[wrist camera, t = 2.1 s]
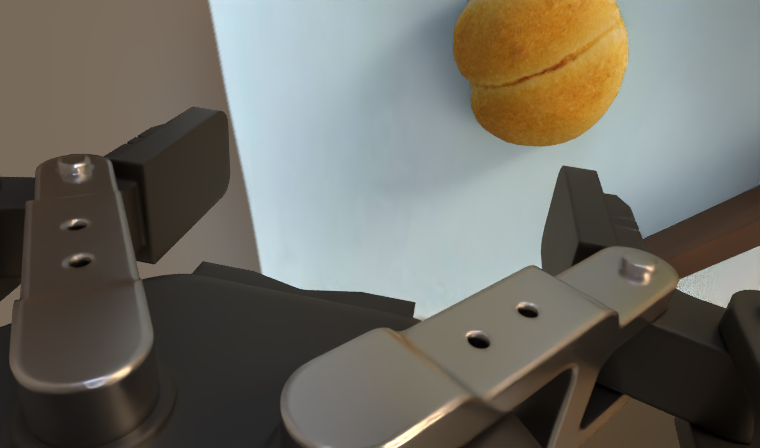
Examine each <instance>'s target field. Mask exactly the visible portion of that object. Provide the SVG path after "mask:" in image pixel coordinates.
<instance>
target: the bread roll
mask: <svg viewBox="0 0 760 448" xmlns="http://www.w3.org/2000/svg"><path fill="white" fill-rule="evenodd" d="M453 50H454V58H455V61H456V64H457V66H458V68H459V70H460V72H461V74H462V75H463V76H464V77H465V78H466V79H467V80H468V81H469V82H470V86H471V107H472V110H473V113H474V115H475V118H476V120H477V121H478V122H479V124H480V125H481V126H482V127H483V128H484V129H485V130H486V131H488V132H490V133H491V134H493V135H495V136H496V137H498V138H500V139H502V140H504V141H506V142H509V143H513V144H517V145H525V146H551V145H556V144H560V143H564V142H567V141H569V140H572V139H575V138H576V137H578V136H580V135H581V134H583V133H584V132H586V131H587V130H588V129H590V128H591V127H592V126H593V125H594V124H595V123H596V122H597V121H598V120H599V119H600V118H601V117H602V116H603V114H604V113H605V112H606V111H607V110H608V108H609V107H610V105H611V104H612V102H613V101H614V99H615V97H616V96H617V94H618V92H619V89H620V87H621V84H622V80H623V77H624V73H625V70H626V67H627V64H628V53H629V47H628V37H627V31H626V28H625V25H624V22H623V20H622V17H621V14H620V10H619V7H618V5H617V4H616V1H615V0H469V1H468V3H467V6H466V7H465V9H464V10H463V11H462V13H461V15H460V17H459V18H458V20H457V23H456V25H455V28H454V41H453Z"/></svg>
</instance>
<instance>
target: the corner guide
mask: <svg viewBox="0 0 760 448" xmlns="http://www.w3.org/2000/svg"><path fill="white" fill-rule="evenodd" d="M643 241H644V243H645V246H646V249H647V251H648V253H651V254H653V255H655V256H657V257H659V258H661V259H663V260H664V261H666V262H667V263H668V264H670V265H671V266H672V267H673V268H674V269H675V271H676V272H677V273H678V276H679V279H681V278H684V277H686V276H688V275H691V274H693V273H696V272H698V271H700V270H703V269H705V268H707V267H710V266H712V265H715V264H717V263H719V262H722V261H724V260H726V259H729V258H731V257H734V256H736V255H738V254H741V253H743V252H746V251H748V250H750V249H753V248H755V247H757V246H760V186H758V187H756V188H754V189H751V190H749V191H747V192H745V193H743V194H741V195H738V196H736V197H734V198H732V199H730V200H728V201H725V202H723V203H721V204H719V205H717V206H715V207H712V208H710V209H708V210H706V211H704V212H702V213H699V214H697V215H695V216H693V217H691V218H689V219H686V220H684V221H682V222H680V223H678V224H676V225H673V226H671V227H669V228H667V229H665V230H663V231H660V232H658V233H656V234H654V235H652V236H650V237H647V238H645V239H643Z"/></svg>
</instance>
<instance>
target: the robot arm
mask: <svg viewBox="0 0 760 448" xmlns="http://www.w3.org/2000/svg"><path fill="white" fill-rule="evenodd" d="M229 179H230V158H229V133H228V119H227V116H226V114H225V113H224V112H223V111H217V110H211V109H205V108H199V107H191V108H190V109H188V110H186V111H185V112H183V113H181V114H180V115H178V116H177V117H175V118H174V119H172V120H170V121H169V122H167V123H165V124H162V125H159V126H155V127H152V128H150V129H148V130H146V131H145V132H143V133H142V134H140V135H138V137H135V138H133V139H132V140H130V141H128V143H127V144H124V145H122V146H120V147H118V148H117V149H115V150H114V151H112V152H110V153H109V154H107V155H105V156H104V157H102V156H98V155H91V154H70V155H65V156H60V157H56V158H53V159H50V160H47V161H45V162H44V163H42V164H40V165H39V166H38V167H37V169H36V172H35V178H31V177H30V178H29V177H28V178H27V177H26V178H25V177H0V301H1V300H2V299H4V298H5V297H6V296H7V295H8V294H10V293H11V292H12V291H13V290H14V289H15V288H17V287H18V286H19V285H20V284H21V291H20V299H19V300H15V301H14V304H13V312H12V323H11V324H8V325H5V326H2V327H0V448H579V447H581V446H582V445H583V443H585V442H586V441H587V440H588V439H589V438H590V437H591V436H592V435H593V434H594V433H596V432H597V431H598V430H599V429H600V428H601V427H602V426H603V425H604V424H605V423H606V422H607V421H608V420H610V419H611V418H612V417H613V416H614V415H615V414H616V413H617V412H618V411H619V410H620V409H621V408H623V407H624V406H625V405H626V404H627V403H628V401H629V400H630V398H631V397H632V398H634V399H636V400H638V401H641V402H643V403H645V404H648V405H650V406H652V407H655V408H657V409H659V410H662V411H664V412H666V413H668V414H671V415H673V416H675V419H674V420H675V426H676V431H677V435H678V440H679V444H680V447H681V448H760V291H758V290H743V291H739V292H736V293H735V294H733V295H732V297H731V299H730V302H729V304H728V306H727V308H723V307H720V306H718V305H715V304H712V303H709V302H706V301H703V300H700V299H698V298H695V297H692V296H690V295H688V294H686V293H683V292H681V291H680V290H678V289H676V287H677V284H678V282H679V276H678V273H677V272H676V271H675V269H674V268H673V267H672V266H671V265H670V264H668V263H667V262H666V261H664V260H663V259H661V258H659V257H657V256H655V255H653V254H651V253H648V251H647V249H646V246H645V243H644V241H643V238H642V236H641V233H640V232H639V231H638V230H639V228H638V226H637V223H636V222H635V218H634V216H633V213H632V210H631V208H630V207H629V206H628V205H627V204H626V203H625V202H624V201H622V200H621V199H620V198H619V197H618V196H617V195H611V194H605V193H603V190H602V187H601V184H600V181H599V178H598V174H597V172H596V171H594V170H588V169H581V168H575V167H569V166H562V167H561V169H560V172H559V174H558V178H557V182H556V185H555V189H554V193H553V197H552V201H551V204H550V208H549V212H548V216H547V220H546V223H545V227H544V232H543V237H542V244H541V260H542V269H540V268H538V267H537V266H535V265H530V266H527V267H525V268H523V269H521V270H519V271H517V272H515V273H513V274H511V275H510V276H508V277H506V278H504V279H502V280H500V281H498V282H496V283H494V284H492V285H490V286H489V287H487V288H485V289H483V290H481V291H479V292H477V293H475V294H473V295H471V296H469V297H468V298H466V299H464V300H462V301H460V302H458V303H456V304H454V305H452V306H450V307H448V308H447V309H445V310H443V311H441V312H439V313H437V314H435V315H433V316H431V317H429V318H427V319H426V320H424V321H420V320H418V319H415V318H413V315H414V308H415V302H410V301H405V300H400V299H395V298H390V297H384V296H379V295H374V294H369V293H364V292H347V291H319V290H303V289H299V288H296V287H293V286H290V285H288V284H285V283H283V282H280V281H277V280H275V279H272V278H270V277H267V276H265V275H262V274H259V273H257V272H254V271H250V270H245V269H240V268H234V267H229V266H224V265H219V264H214V263H209V262H204V261H203V262H202V263H201V264H200V265H199V266H198V267H197V269H196V270H195V271H194V272H193V273H192V274H172V275H162V276H157V277H151V278H146V279H140V277H139V272H138V267H137V263H136V261H140V262H145V263H150V264H156V263H157V261H158V260H159V259H161V258H162V257H163V255H164V254H166V252H168V250H170V249H171V247H173V246H174V245H175V244H176V243H177V242H178V241H179V240H180V238H182V237H183V236H184V235H185V234H186V233H187V232H188V231H189V230H190V229H191V228H192V226H194V225H195V224H196V223H197V222H198V221H199V220H200V219H201V218H202V217H203V216H204V214H206V213H207V212H208V210H210V209H211V208H212V207H213V206H214V205H215V204H216V203H217V202H218V201H219V199H221V198H222V197H223V195H224V194H225V192H226V190H227V188H228V184H229Z"/></svg>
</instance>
